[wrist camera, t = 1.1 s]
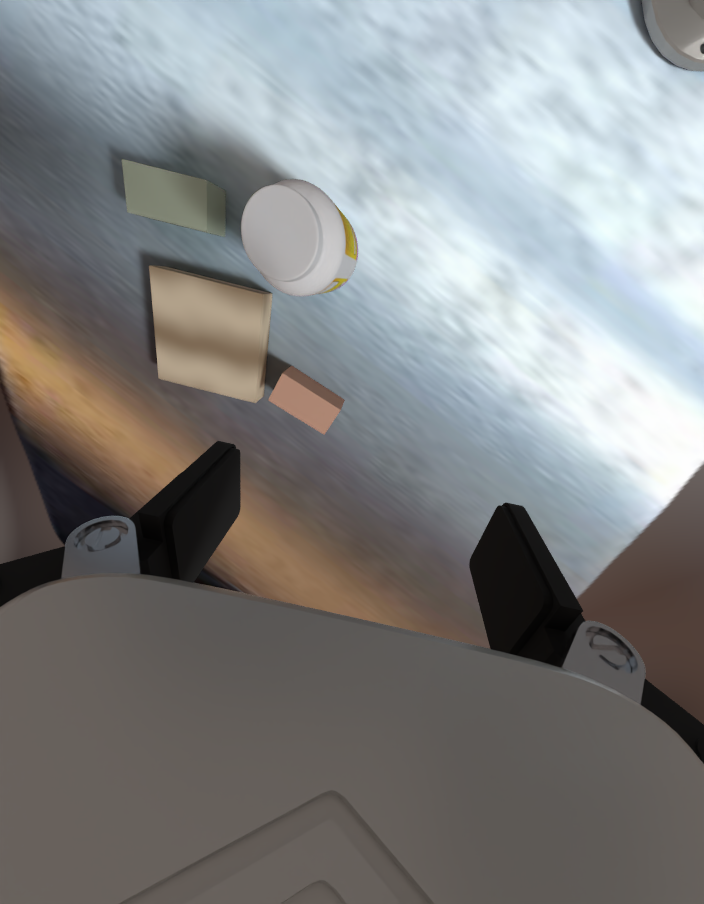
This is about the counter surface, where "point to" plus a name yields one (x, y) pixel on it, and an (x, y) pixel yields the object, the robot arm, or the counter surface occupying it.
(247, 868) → the robot arm
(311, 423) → the terracotta brick
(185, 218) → the sage brick
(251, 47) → the counter surface
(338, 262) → the supplement bottle
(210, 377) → the maple slab
